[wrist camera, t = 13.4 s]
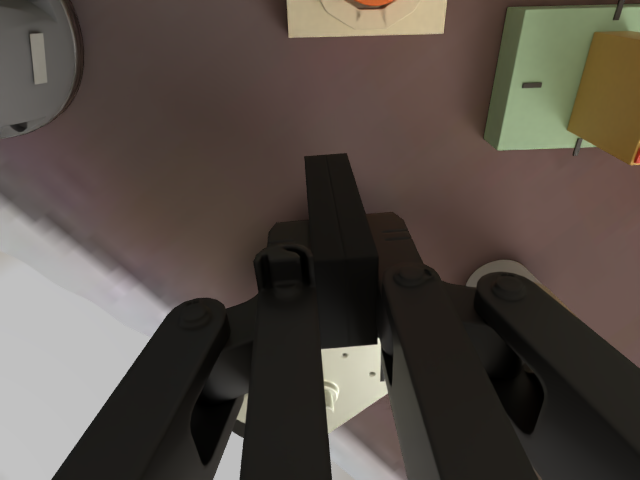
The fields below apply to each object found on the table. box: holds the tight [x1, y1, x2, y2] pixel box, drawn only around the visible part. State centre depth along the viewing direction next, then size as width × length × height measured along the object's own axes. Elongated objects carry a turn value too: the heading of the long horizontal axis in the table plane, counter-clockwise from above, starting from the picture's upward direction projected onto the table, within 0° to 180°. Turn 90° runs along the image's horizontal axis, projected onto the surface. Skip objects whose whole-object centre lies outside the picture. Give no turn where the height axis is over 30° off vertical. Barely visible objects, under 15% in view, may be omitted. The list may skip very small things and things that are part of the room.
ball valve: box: [232, 335, 388, 438], centre depth 35 cm, size 18×8×18 cm, turn 136°
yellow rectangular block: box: [567, 31, 640, 165], centre depth 29 cm, size 7×3×8 cm, turn 1°
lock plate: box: [484, 0, 640, 156], centre depth 33 cm, size 13×11×3 cm
